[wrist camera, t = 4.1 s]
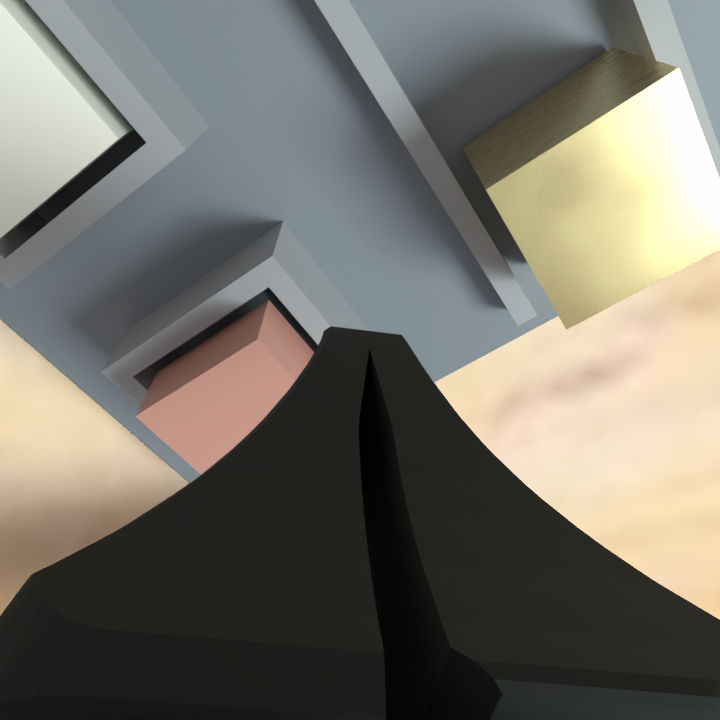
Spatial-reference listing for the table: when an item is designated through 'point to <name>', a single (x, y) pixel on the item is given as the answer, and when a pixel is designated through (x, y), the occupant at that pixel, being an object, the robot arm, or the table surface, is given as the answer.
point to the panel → (306, 175)
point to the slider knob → (604, 182)
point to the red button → (224, 386)
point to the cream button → (45, 115)
